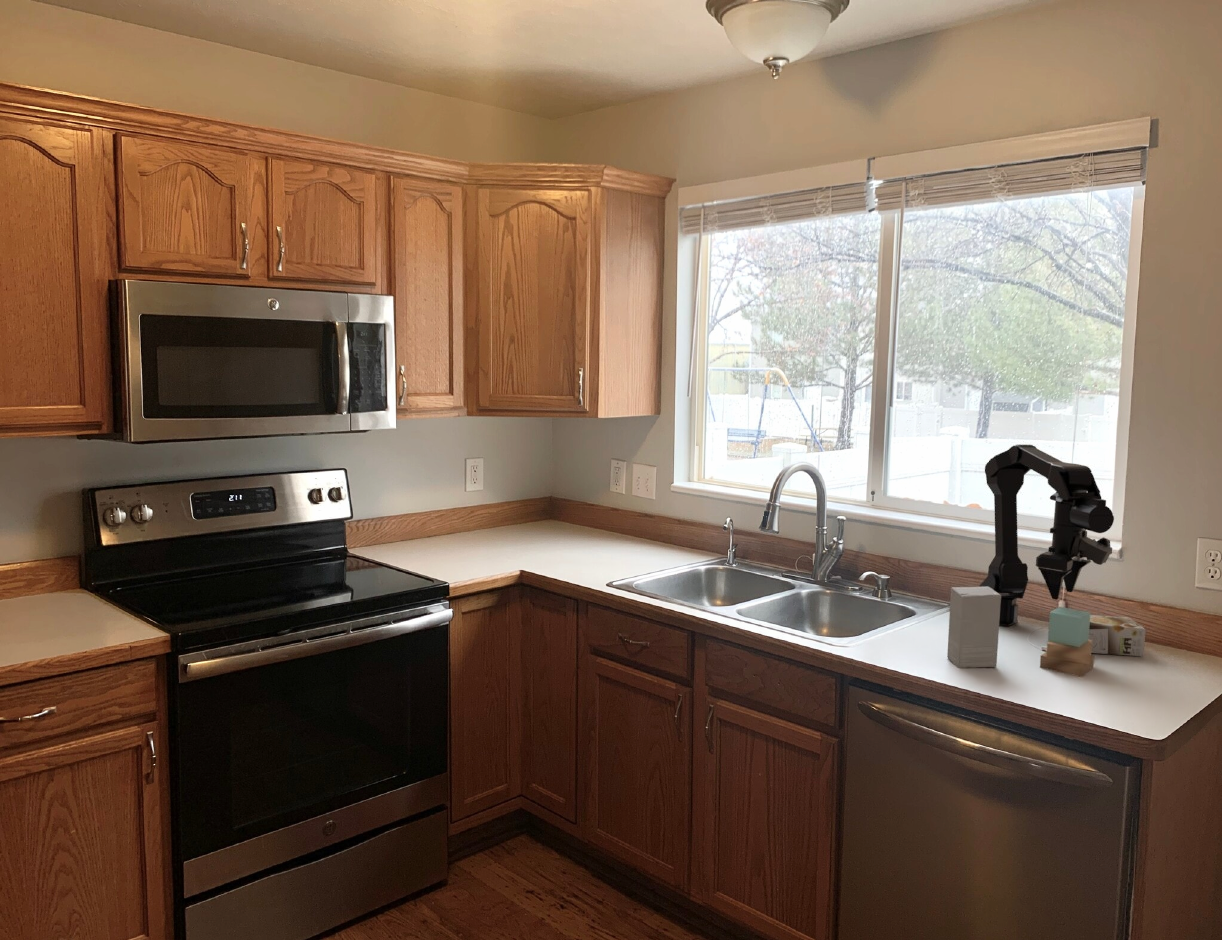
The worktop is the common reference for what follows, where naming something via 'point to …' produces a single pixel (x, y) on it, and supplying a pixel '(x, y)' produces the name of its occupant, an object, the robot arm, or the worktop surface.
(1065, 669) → the tower base
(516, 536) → the worktop surface
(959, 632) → the skincare box
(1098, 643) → the coffee box
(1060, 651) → the tower top
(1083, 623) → the teal cube
